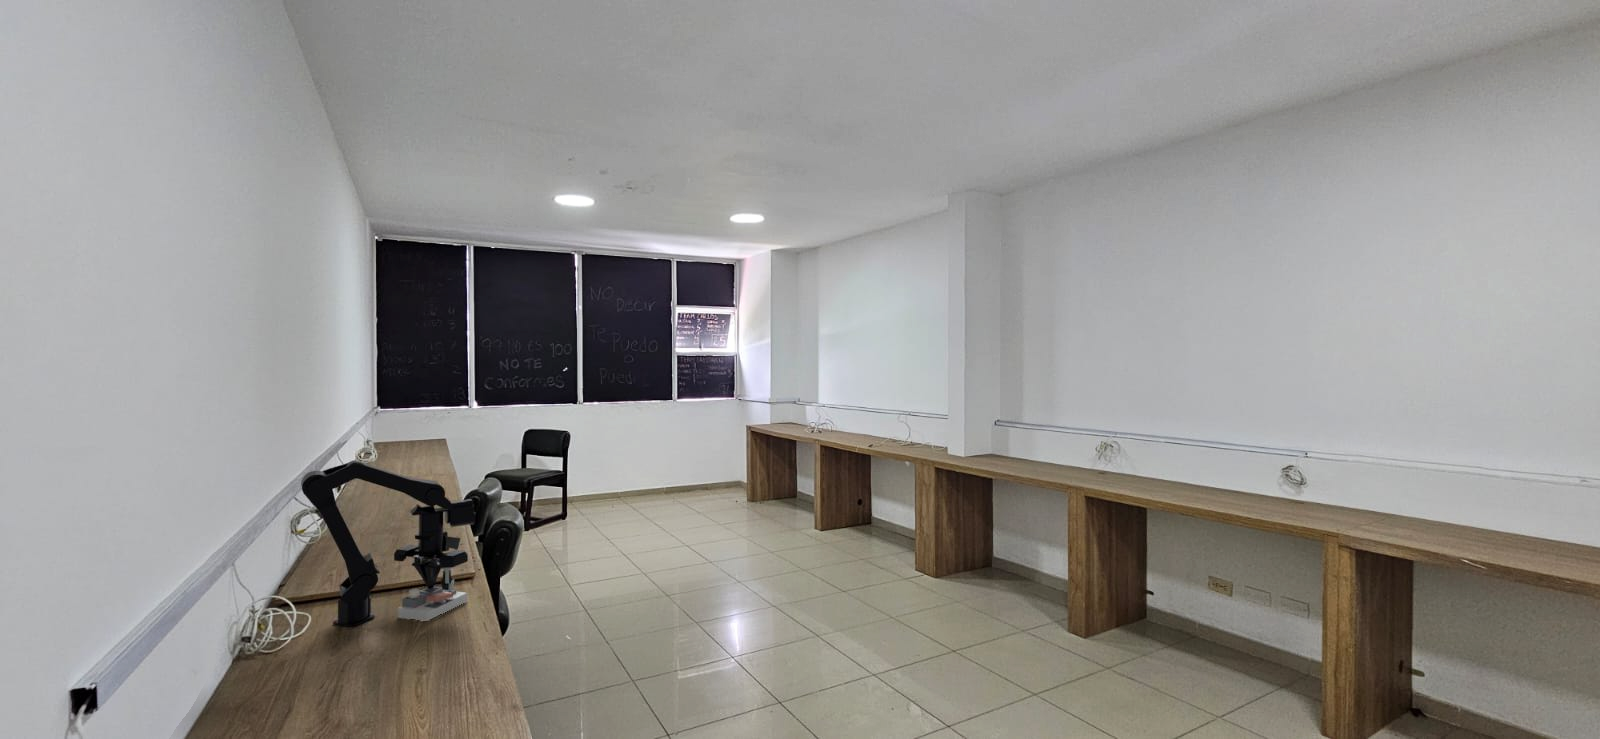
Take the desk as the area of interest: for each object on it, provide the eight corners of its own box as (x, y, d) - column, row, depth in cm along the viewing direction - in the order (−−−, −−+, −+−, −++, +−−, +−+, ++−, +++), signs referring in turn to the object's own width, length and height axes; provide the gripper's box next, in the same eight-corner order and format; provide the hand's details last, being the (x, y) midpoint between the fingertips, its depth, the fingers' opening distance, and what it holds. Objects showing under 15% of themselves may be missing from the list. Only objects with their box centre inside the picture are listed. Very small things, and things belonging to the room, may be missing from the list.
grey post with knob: (435, 588, 195) (435, 553, 195) (456, 585, 198) (456, 551, 197) (436, 596, 189) (436, 560, 189) (458, 593, 192) (458, 557, 191)
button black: (431, 597, 180) (431, 589, 180) (423, 596, 181) (423, 588, 181) (438, 594, 183) (438, 586, 183) (430, 593, 183) (430, 585, 183)
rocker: (435, 601, 175) (436, 597, 175) (426, 600, 176) (426, 596, 176) (452, 596, 181) (453, 592, 181) (444, 595, 181) (444, 591, 182)
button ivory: (414, 600, 175) (414, 592, 175) (406, 599, 176) (406, 591, 176) (421, 597, 177) (421, 589, 177) (414, 595, 178) (414, 588, 178)
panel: (427, 622, 172) (427, 598, 172) (398, 617, 174) (398, 594, 174) (468, 602, 186) (468, 580, 185) (440, 598, 188) (440, 576, 188)
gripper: (482, 525, 187) (482, 582, 187) (425, 519, 191) (425, 574, 192) (452, 535, 176) (451, 596, 176) (392, 529, 181) (392, 587, 181)
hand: (430, 588), depth 182 cm, fingers closed, pressing on button black
